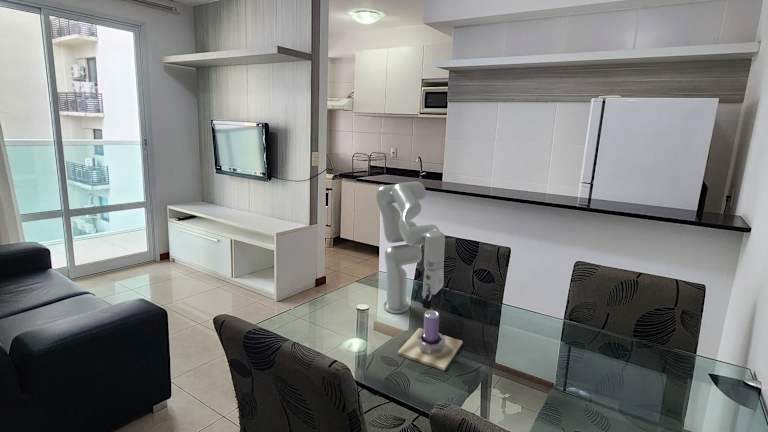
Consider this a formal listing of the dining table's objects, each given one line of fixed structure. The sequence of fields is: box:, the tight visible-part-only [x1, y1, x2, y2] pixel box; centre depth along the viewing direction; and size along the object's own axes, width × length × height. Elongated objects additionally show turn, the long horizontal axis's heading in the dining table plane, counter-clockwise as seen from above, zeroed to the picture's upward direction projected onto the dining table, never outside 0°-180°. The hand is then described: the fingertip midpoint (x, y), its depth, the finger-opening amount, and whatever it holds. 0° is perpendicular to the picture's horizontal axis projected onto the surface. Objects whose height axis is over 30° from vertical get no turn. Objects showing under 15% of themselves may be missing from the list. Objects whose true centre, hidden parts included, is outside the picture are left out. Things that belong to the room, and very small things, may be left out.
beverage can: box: [423, 309, 440, 345], centre depth 167 cm, size 6×6×15 cm
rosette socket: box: [397, 327, 464, 371], centre depth 169 cm, size 20×20×5 cm
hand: (431, 302), depth 164 cm, fingers open, 9 cm apart
